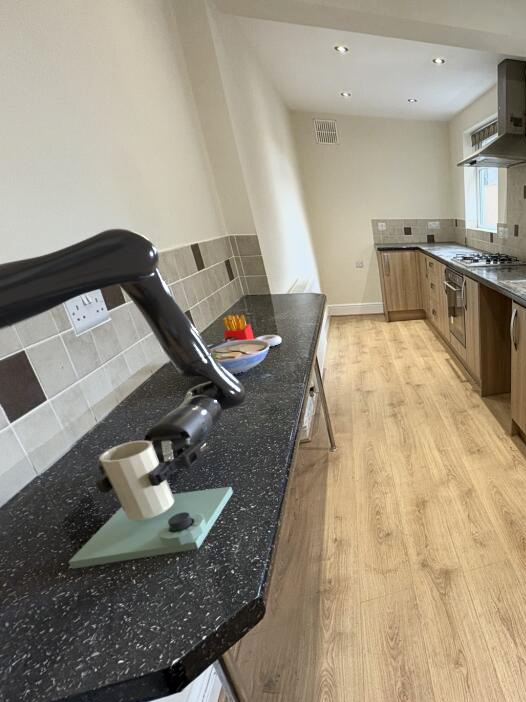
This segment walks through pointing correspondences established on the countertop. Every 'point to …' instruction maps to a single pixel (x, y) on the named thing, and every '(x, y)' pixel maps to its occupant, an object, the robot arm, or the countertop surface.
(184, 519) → the button
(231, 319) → the french fries container
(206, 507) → the scale
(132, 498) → the cup
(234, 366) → the ramen bowl
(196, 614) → the countertop surface
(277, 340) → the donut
